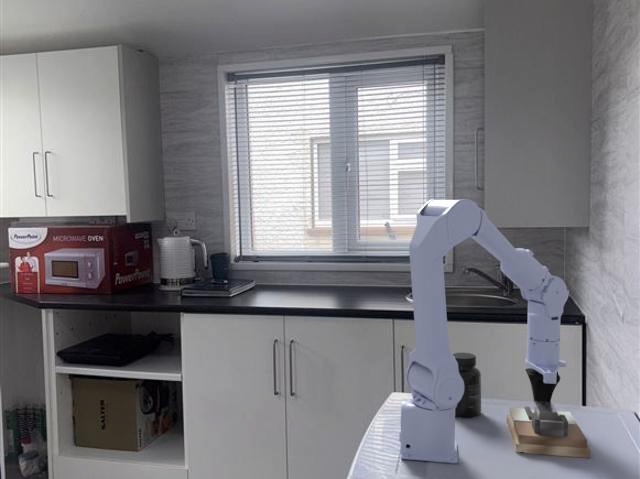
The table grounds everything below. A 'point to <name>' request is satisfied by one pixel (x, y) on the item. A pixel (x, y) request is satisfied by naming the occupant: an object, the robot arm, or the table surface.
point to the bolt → (545, 410)
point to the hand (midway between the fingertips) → (541, 408)
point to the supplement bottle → (469, 386)
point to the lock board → (546, 434)
